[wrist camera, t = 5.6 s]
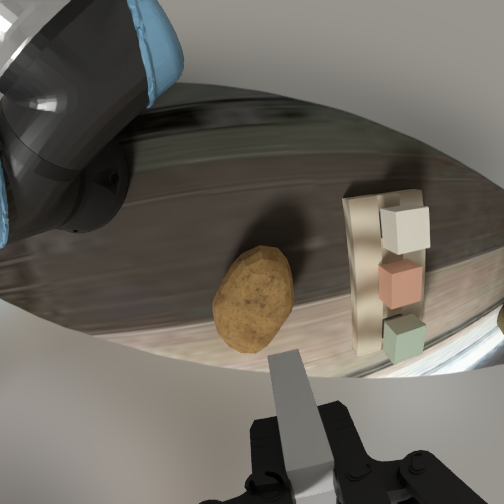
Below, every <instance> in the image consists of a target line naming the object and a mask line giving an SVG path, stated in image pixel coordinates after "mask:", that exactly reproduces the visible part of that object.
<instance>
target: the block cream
mask: <svg viewBox="0 0 504 504" xmlns="http://www.w3.org/2000/svg"><path fill="white" fill-rule="evenodd" d="M380 221H381V233H382V237H383V248H385V249H387V250H389V251H391V252H393V253H395V254H397V255H400V254H404V253H409V252H413V251H417V250H421V249H426V248H430V225H429V208H428V207H426V206H420V205H414V204H408V205H402V206H395V207H388V208H381V209H380Z"/></svg>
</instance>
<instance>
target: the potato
mask: <svg viewBox="0 0 504 504" xmlns="http://www.w3.org/2000/svg"><path fill="white" fill-rule="evenodd" d="M293 305H294V290H293V280H292V273H291V270H290V266H289V263H288V260H287V259H286V257H285V256H284V255H283V254H282V252H281V251H280V250H279V249H278V248H275V247H268V246H260V245H259V246H257V247H255V248H253V249H250V250H248V251H246V252H244V253H242V254H241V255H240V256H239V257H238V258H237V259H236V260H235V261H234V262H233V263H232V264H231V266H230V267H229V269H228V271H227V272H226V274H225V276H224V278H223V280H222V282H221V284H220V286H219V289H218V291H217V293H216V295H215V298H214V300H213V317H214V320H215V324H216V328H217V332H218V334H219V335H220V336H221V337H222V339H223V340H224V341H225V342H226V344H227V345H229V346H230V347H232V348H233V349H235V350H237V351H239V352H241V353H257V352H258V351H260V350H262V349H263V348H265V347H266V346H267V345H268V344H269V343H270V342H271V340H272V339H273V338H274V337H275V335H276V334H277V332H278V331H279V329H280V328H281V326H282V325H283V323H284V322H285V320H286V319H287V317H288V316H289V314H290V313H291V311H292V308H293Z"/></svg>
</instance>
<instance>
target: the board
mask: <svg viewBox="0 0 504 504" xmlns="http://www.w3.org/2000/svg"><path fill="white" fill-rule="evenodd" d="M342 201H343V208H344V216H345V225H346V234H347V244H348V255H349V267H350V282H351V301H352V336H353V350H354V352H355V354H356V355H357V357H358V356H362V355H365V354H369V353H372V352H375V351H379V350H382V349H383V341H384V336H383V330H382V320H383V319H384V318H388V317H391V316H394V315H395V316H398V315H401V316H402V317H403V316H406V315H409V314H412V313H413V314H414V315H415V316H416V317H417V318H419V319H420V320H421V321H422V315H423V303H424V286H425V249H421V250H417V251H413V252H409V253H404V254H400V255H397V254H395V253H393V252H391V251H389V250H387V249H385V248H383V237H382V234H381V233H380V221H379V212H380V209H381V208H388V207H395V206H402V205H408V204H414V205H420V206H423V197H422V190H416V189H411V190H403V191H394V192H386V193H379V194H371V195H364V196H356V197H349V198H342ZM404 259H409V260H411V261H413V262H415V263H417V264H419V265H420V266H422V292H421V301H418V302H415V303H412V304H409V305H405V306H402V307H399V308H395V309H392V310H391V309H390V308H389V307H388V306H387V305H386V304H385V303H384V302H383V301H381V300H380V299H379V270H378V265H383V264H387V263H392V262H396V261H400V260H404Z"/></svg>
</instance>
